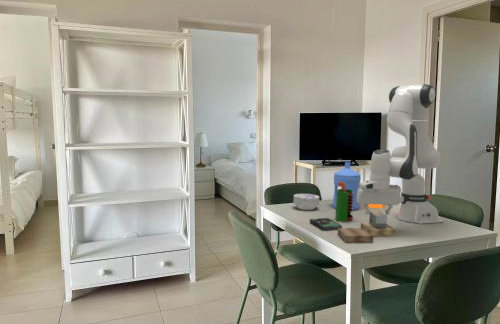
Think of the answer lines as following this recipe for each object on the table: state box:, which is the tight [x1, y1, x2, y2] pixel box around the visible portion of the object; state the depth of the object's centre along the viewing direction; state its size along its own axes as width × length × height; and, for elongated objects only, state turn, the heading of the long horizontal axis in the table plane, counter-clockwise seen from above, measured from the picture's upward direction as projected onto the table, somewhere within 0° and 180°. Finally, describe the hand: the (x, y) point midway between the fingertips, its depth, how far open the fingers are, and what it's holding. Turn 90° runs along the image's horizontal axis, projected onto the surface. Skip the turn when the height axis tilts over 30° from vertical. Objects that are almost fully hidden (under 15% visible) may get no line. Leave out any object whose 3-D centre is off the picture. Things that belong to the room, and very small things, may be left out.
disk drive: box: [309, 217, 343, 232], centre depth 188 cm, size 10×3×15 cm
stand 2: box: [360, 222, 396, 237], centre depth 179 cm, size 12×12×3 cm
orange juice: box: [368, 204, 384, 209], centre depth 232 cm, size 8×9×20 cm
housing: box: [368, 211, 388, 229], centre depth 178 cm, size 5×8×6 cm, turn 3°
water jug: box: [332, 161, 362, 211], centre depth 228 cm, size 16×16×28 cm
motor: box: [334, 182, 354, 223], centre depth 200 cm, size 10×9×20 cm
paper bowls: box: [292, 193, 320, 211], centre depth 226 cm, size 15×15×8 cm
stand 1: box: [337, 227, 374, 244], centre depth 169 cm, size 12×12×3 cm
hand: (377, 213), depth 177 cm, fingers open, 8 cm apart
